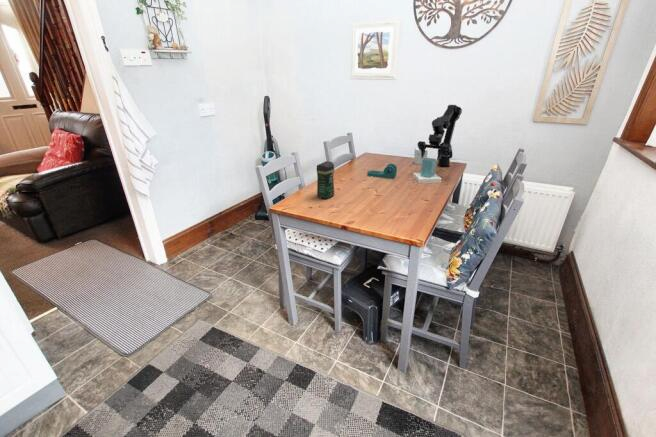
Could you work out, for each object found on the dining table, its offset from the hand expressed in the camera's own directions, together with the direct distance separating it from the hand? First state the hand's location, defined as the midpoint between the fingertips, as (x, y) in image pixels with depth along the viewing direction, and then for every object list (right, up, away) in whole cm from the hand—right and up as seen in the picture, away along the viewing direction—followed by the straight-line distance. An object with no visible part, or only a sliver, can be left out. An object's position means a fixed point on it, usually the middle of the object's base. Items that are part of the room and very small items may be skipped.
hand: (429, 159), depth 179 cm
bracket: (-26, -9, +14) cm, 31 cm away
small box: (+6, +4, +37) cm, 38 cm away
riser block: (0, -12, +5) cm, 13 cm away
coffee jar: (-61, -24, -16) cm, 68 cm away
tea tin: (0, -9, +4) cm, 10 cm away
